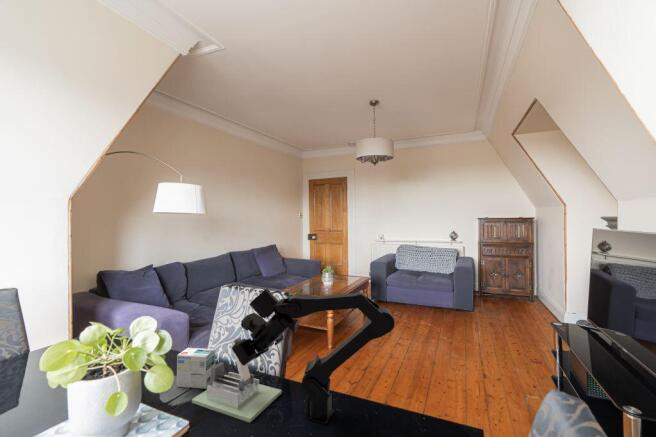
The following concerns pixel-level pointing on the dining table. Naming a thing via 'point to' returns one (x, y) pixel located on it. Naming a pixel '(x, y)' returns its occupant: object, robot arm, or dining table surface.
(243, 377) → the steel strap
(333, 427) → the dining table surface
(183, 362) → the light bulb box
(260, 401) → the pale green board
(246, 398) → the heat sink
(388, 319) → the robot arm
